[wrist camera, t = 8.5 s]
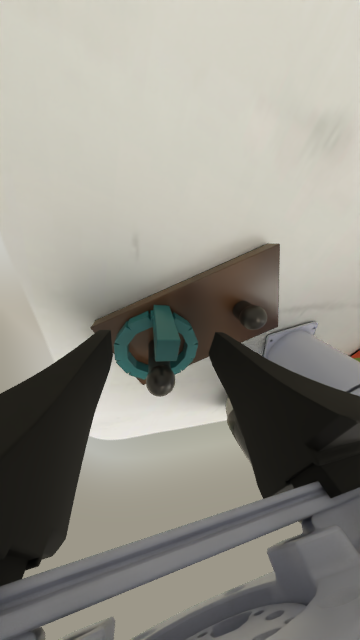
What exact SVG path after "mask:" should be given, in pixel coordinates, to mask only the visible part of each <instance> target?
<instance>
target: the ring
mask: <svg viewBox="0 0 360 640" xmlns="http://www.w3.org/2000/svg"><path fill="white" fill-rule="evenodd" d="M151 327H153V336H154V353H155V361H170V366H171V370H172V371H173V373H174V375H175V374H177V373H180V372H181V370H182V371H183V370H184V369H185V368H186V367H187V366H188V365H189V364H190V363H191V362H192V361H193V358H195V355H196V351H197V348H198V341H197V338H196V336H195V333H194V331H193V328H192V326H191V324H190V323H189V322H188V321H187V320H185V319H184V318H182V317H181V316H179V315H177V314H176V313H174V312H173V314H172V312H171V309H170V306H166V305H154V308H153V310H151V312H150V313H149V312H148V311H146V312H144V313H142V314H140V315H137V316H135V317H133V318H130V319H129V322H128V321H126V323H125V324H124V326H123V327H122V328H121V330H120V331H119V333H118V334H117V336H116V339H115V343H114V353H115V360H117V361H116V363H117V364H118V365H119V366H120V367H121V368H122V369H123V370H124V371H125V372H126V373H129V375H131V376H134V377H137V378H140V379H144V380H145V379H146V377H147V375H148V365H147V364H144V363H142V362H139V361H137V360H136V359H135V358H134V357H133V356H132V354H131V353H130V352H129V343H130V342H131V340H132V339H133V338H134V336H135V335H136V334H138V333H140V332H142V331H144V330H147V329H149V328H151ZM178 333H180V334H182V335H183V337H184V340H185V342H184V347H183V351H182V352H181V353H180V354H179V355H178V352H179V347H180V341H181V340H180V337H179V334H178Z"/></svg>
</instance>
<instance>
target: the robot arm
mask: <svg viewBox="0 0 360 640" xmlns="http://www.w3.org/2000/svg"><path fill="white" fill-rule="evenodd" d="M317 326H318V322H315V321H314V322H310V323H307V324H303V325H300V326H297V327H293V328H290V329H286V330H283V331H280V332H276V333H273V334H270V335H268V336H267V339H266V345H265V351H264V356H261V355H259V354H258V353H256V352H254V351H253V350H251V349H249V348H248V347H246V346H245V345H243V344H241V343H240V342H238V341H237V340H235V339H234V338H232V337H230V336H229V335H227V334H225V333H223V332H215V335H214V338H213V341H212V344H211V347H210V350H209V356H210V359H211V362H212V365H213V367H214V369H215V371H216V373H217V375H218V377H219V379H220V381H221V383H222V385H223V387H224V389H225V391H226V393H227V395H228V397H229V399H230V402H231V404H232V407H233V410H234V412H235V415H236V418H237V420H238V423H239V426H240V429H241V431H242V435H243V438H244V441H245V444H246V447H247V450H248V453H249V457H250V460H251V463H252V467H253V470H254V474H255V477H256V481H257V485H258V488H259V490H260V492H261V495H262V497H263V499H262V500H259V501H256V502H253V503H250V504H247V505H244V506H241V507H238V508H235V509H232V510H229V511H226V512H223V513H220V514H217V515H214V516H211V517H208V518H205V519H202V520H199V521H196V522H193V523H190V524H187V525H184V526H181V527H178V528H175V529H172V530H169V531H165V532H162V533H159V534H156V535H153V536H150V537H147V538H144V539H141V540H139V541H135V542H132V543H129V544H126V545H123V546H120V547H117V548H114V549H111V550H108V551H105V552H102V553H99V554H96V555H93V556H90V557H87V558H84V559H81V560H78V561H75V562H72V563H69V564H66V565H63V566H60V567H57V568H54V569H51V570H48V571H45V572H42V573H39V574H36V575H33V576H30V577H27V578H24V579H22V577H23V574H24V572H25V570H28V569H31V568H34V567H37V566H39V564H40V562H41V560H42V559H45V558H48V557H51V556H53V555H54V554H55V553H56V551H57V550H58V549H59V547H60V546H61V545H62V543H63V542H64V540H65V539H66V535H67V530H68V525H69V520H70V515H71V511H72V506H73V501H74V496H75V492H76V487H77V483H78V478H79V474H80V470H81V465H82V461H83V457H84V453H85V448H86V444H87V440H88V436H89V432H90V428H91V424H92V420H93V417H94V413H95V410H96V407H97V404H98V401H99V398H100V395H101V393H102V390H103V387H104V384H105V382H106V379H107V376H108V373H109V370H110V366H111V362H112V357H113V350H112V340H111V330H99V331H97V332H96V333H95V334H94V335H92V336H91V337H90V338H88V339H87V340H86V341H85V342H83V343H82V344H81V345H79V346H78V347H77V348H75V349H74V350H73V351H71V352H70V353H68V354H67V355H65V356H64V357H62V358H61V359H59V360H58V361H57V362H55V363H54V364H52V365H51V366H49V367H47V368H46V369H44V370H43V371H41V372H39V373H37V374H36V375H34V376H33V377H31V378H29V379H27V380H26V381H24V382H22V383H20V384H18V385H17V386H14V387H12V388H10V389H9V390H7V391H5V392H3V393H1V394H0V640H45V632H44V630H43V629H42V627H40V626H43V625H45V624H48V623H50V622H53V621H55V620H58V619H60V618H63V617H65V616H68V615H70V614H72V613H75V612H77V611H80V610H82V609H85V608H87V607H90V606H92V605H94V604H97V603H99V602H102V601H104V600H106V599H109V598H112V597H114V596H116V595H119V594H121V593H124V592H126V591H129V590H131V589H134V588H136V587H138V586H141V585H143V584H146V583H148V582H151V581H153V580H155V579H158V578H160V577H163V576H165V575H168V574H170V573H173V572H175V571H178V570H180V569H182V568H185V567H187V566H190V565H192V564H195V563H197V562H200V561H202V560H204V559H207V558H209V557H212V556H214V555H217V554H219V553H221V552H224V551H227V550H229V549H231V548H234V547H236V546H239V545H241V544H244V543H246V542H248V541H251V540H253V539H256V538H258V537H261V536H263V535H266V534H268V533H270V532H273V531H275V530H278V529H280V528H283V527H285V526H288V525H290V524H293V523H295V522H297V521H300V520H302V519H303V520H302V528H303V533H302V534H301V535H298V536H295V537H292V538H289V539H287V540H284V541H281V542H279V543H277V544H275V545H273V546H271V547H270V548H268V549H267V554H268V556H269V559H270V562H271V564H272V567H273V569H274V571H273V572H271V573H269V574H266V575H264V576H261V577H259V578H257V579H254V580H252V581H250V582H247V583H245V584H243V585H240V586H238V587H235V588H233V589H231V590H229V591H226V592H224V593H221V594H219V595H217V596H215V597H212V598H210V599H208V600H206V601H203V602H201V603H199V604H197V605H195V606H193V607H191V608H189V609H187V610H185V611H182V612H180V613H178V614H176V615H174V616H173V617H171V618H169V619H167V620H165V621H163V622H161V623H159V624H157V625H156V626H154V627H152V628H150V629H148V630H146V631H145V632H143V633H141V634H139V635H137V636H135V637H134V638H132V639H130V640H360V362H359V361H357V360H355V359H353V358H352V357H350V356H348V355H346V354H345V353H343V352H341V351H339V350H338V349H336V348H334V347H332V346H331V345H329V344H327V343H325V342H324V341H322V340H320V339H318V338H317V337H315V336H314V333H315V331H316V328H317ZM114 628H115V620H114V618H113V617H110V618H107V619H105V620H102V621H100V622H97V623H94V624H92V625H89V626H86V627H84V628H82V629H79V630H77V631H75V632H73V633H71V634H68V635H66V636H64V637H63V638H61V639H59V640H113V639H114Z"/></svg>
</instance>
